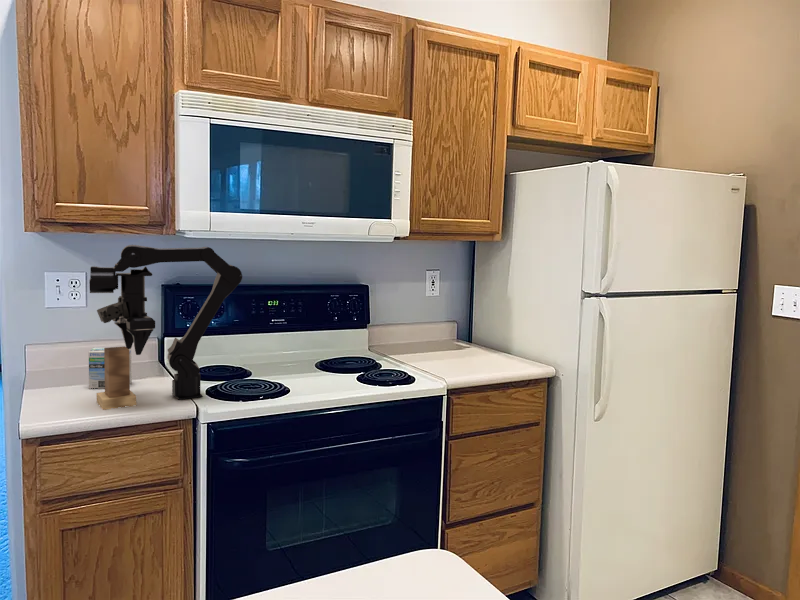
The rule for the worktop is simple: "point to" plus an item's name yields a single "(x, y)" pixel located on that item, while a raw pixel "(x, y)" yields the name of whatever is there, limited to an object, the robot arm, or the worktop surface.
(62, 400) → the worktop surface
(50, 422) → the worktop surface
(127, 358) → the walnut block
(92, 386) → the light bulb box
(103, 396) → the oak block
